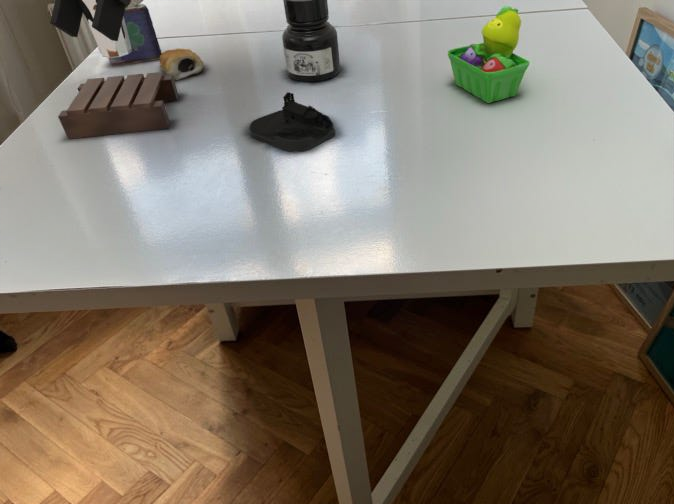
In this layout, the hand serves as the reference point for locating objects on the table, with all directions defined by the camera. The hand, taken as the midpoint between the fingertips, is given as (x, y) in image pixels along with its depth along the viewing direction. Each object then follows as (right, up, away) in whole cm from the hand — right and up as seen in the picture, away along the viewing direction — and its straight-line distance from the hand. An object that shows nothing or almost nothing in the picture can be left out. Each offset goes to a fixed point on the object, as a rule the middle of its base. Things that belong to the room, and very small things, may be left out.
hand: (84, 31), depth 56 cm
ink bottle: (+19, +10, +37) cm, 43 cm away
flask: (-15, +16, +46) cm, 51 cm away
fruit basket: (+47, +4, +29) cm, 55 cm away
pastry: (-5, +12, +41) cm, 43 cm away
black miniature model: (+18, -4, +21) cm, 28 cm away
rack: (-8, 0, +27) cm, 29 cm away
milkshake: (+1, 0, +5) cm, 5 cm away
